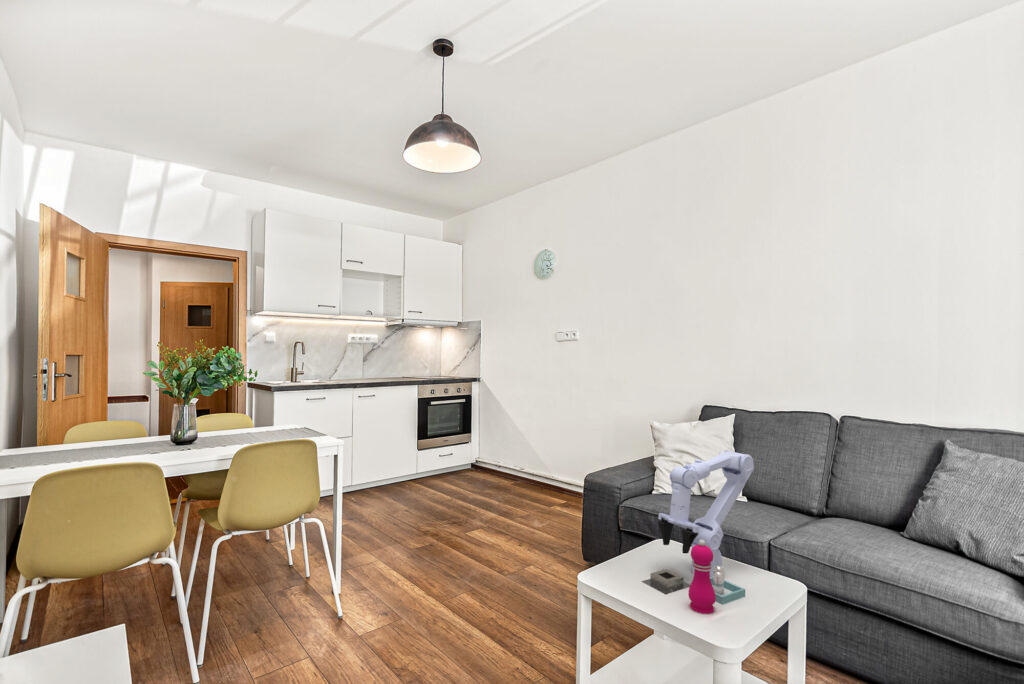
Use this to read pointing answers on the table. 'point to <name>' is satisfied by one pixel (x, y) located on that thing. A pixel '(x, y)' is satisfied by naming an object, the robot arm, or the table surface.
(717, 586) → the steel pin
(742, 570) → the table surface
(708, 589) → the pepper mill
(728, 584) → the tray
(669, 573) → the hitch plate
